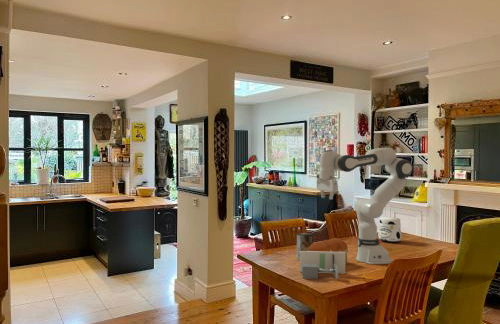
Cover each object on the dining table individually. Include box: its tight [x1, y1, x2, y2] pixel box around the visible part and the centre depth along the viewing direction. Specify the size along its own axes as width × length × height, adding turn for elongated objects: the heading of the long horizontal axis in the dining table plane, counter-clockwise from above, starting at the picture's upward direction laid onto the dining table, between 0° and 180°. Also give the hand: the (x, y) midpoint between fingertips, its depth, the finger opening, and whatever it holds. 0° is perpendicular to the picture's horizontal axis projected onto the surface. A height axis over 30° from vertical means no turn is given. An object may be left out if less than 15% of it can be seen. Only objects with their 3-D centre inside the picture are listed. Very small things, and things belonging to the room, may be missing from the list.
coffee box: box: [296, 232, 314, 260], centre depth 241 cm, size 9×6×16 cm
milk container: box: [377, 216, 402, 243], centre depth 294 cm, size 17×17×18 cm
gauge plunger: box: [318, 254, 339, 280], centre depth 205 cm, size 12×12×10 cm
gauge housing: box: [299, 251, 346, 280], centre depth 206 cm, size 26×12×12 cm, turn 86°
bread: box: [307, 237, 349, 265], centre depth 228 cm, size 25×12×15 cm, turn 131°
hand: (327, 198), depth 229 cm, fingers open, 8 cm apart
